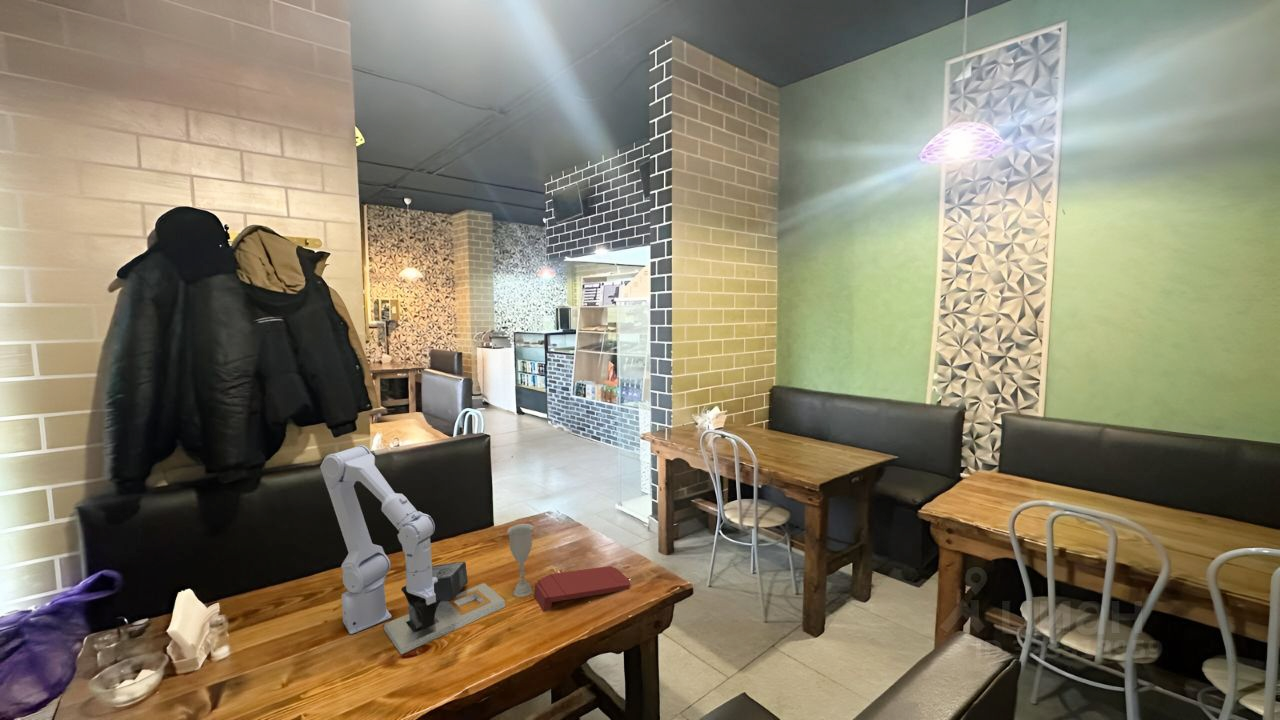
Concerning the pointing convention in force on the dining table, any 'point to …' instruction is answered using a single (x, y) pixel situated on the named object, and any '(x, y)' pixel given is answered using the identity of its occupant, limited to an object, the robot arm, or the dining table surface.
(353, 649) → the dining table surface
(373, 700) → the dining table surface
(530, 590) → the chalice
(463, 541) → the dining table surface
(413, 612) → the post
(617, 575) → the carton
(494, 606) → the rail plate
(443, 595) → the small box
